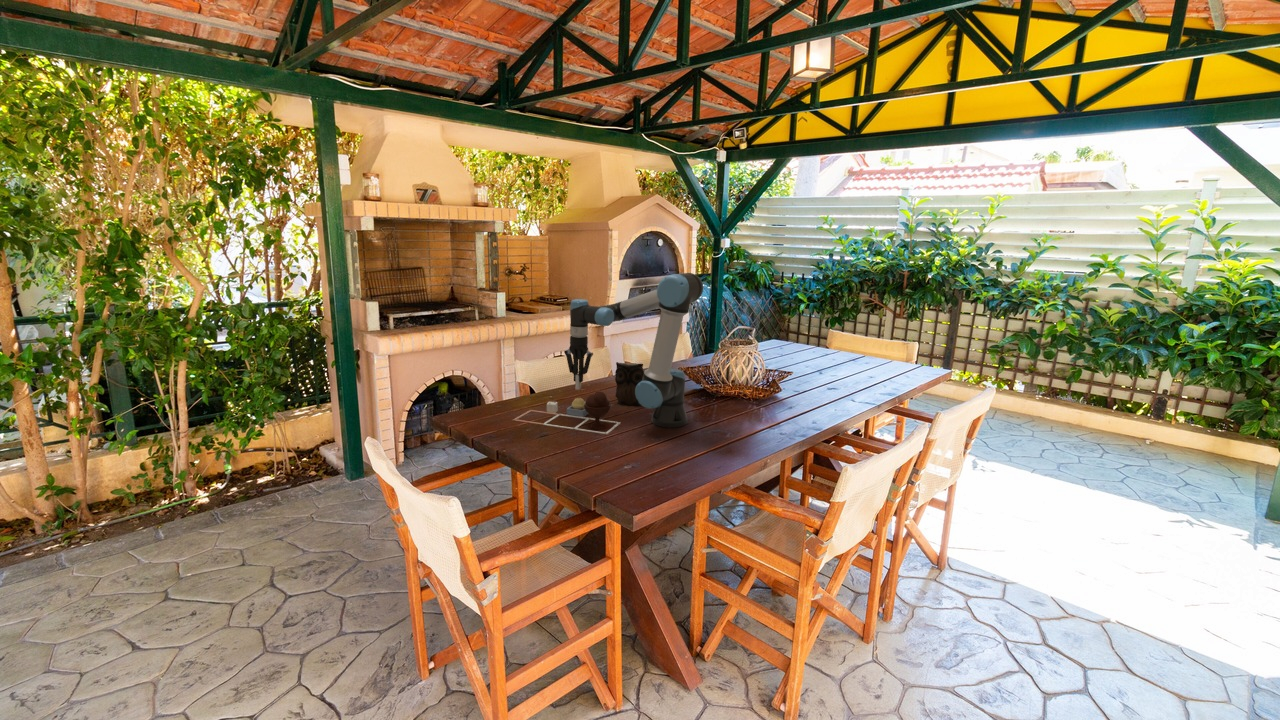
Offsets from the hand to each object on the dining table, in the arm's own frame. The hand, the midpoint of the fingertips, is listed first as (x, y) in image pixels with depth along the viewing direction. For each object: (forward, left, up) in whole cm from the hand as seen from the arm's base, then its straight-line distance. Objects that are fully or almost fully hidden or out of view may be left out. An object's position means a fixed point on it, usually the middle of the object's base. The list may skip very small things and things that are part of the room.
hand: (578, 388), depth 254 cm
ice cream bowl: (+12, +14, -12) cm, 22 cm away
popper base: (0, 0, -11) cm, 11 cm away
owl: (-25, +16, -12) cm, 32 cm away
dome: (0, 0, -9) cm, 9 cm away
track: (+12, 0, -11) cm, 16 cm away
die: (+2, -12, -11) cm, 16 cm away
